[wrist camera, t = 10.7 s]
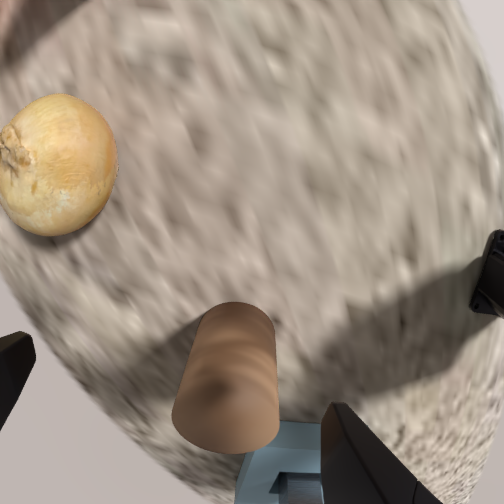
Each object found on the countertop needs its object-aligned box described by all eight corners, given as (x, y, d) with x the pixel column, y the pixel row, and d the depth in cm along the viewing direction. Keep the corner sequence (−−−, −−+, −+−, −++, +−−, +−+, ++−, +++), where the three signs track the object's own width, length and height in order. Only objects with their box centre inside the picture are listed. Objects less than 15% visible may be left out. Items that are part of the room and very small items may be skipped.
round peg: (282, 309, 21) (291, 397, 13) (266, 370, 22) (266, 459, 15) (202, 295, 20) (173, 377, 13) (194, 357, 22) (170, 443, 15)
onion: (157, 143, 17) (101, 147, 11) (94, 244, 20) (32, 289, 13) (70, 78, 16) (-2, 64, 9) (19, 177, 18) (-52, 198, 11)
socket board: (367, 425, 24) (375, 449, 22) (324, 487, 28) (326, 508, 25) (257, 417, 24) (256, 445, 21) (235, 482, 28) (234, 504, 25)
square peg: (316, 452, 26) (325, 522, 18) (306, 467, 27) (312, 533, 19) (285, 450, 26) (289, 522, 18) (277, 466, 27) (279, 533, 19)
